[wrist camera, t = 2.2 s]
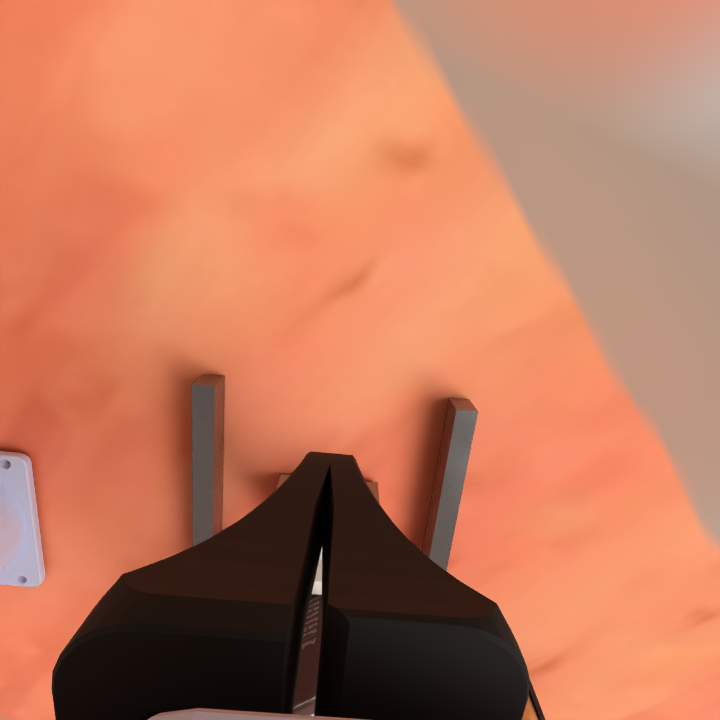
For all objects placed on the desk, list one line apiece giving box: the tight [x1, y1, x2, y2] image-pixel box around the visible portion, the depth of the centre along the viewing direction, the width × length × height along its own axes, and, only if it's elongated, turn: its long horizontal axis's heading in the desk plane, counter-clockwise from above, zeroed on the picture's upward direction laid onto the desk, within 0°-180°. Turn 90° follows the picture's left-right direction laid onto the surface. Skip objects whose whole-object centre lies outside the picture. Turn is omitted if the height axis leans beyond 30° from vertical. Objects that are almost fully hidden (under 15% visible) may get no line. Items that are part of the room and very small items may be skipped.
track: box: [192, 374, 478, 571], centre depth 22 cm, size 13×24×2 cm, turn 174°
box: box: [293, 594, 322, 716], centre depth 20 cm, size 6×6×7 cm
